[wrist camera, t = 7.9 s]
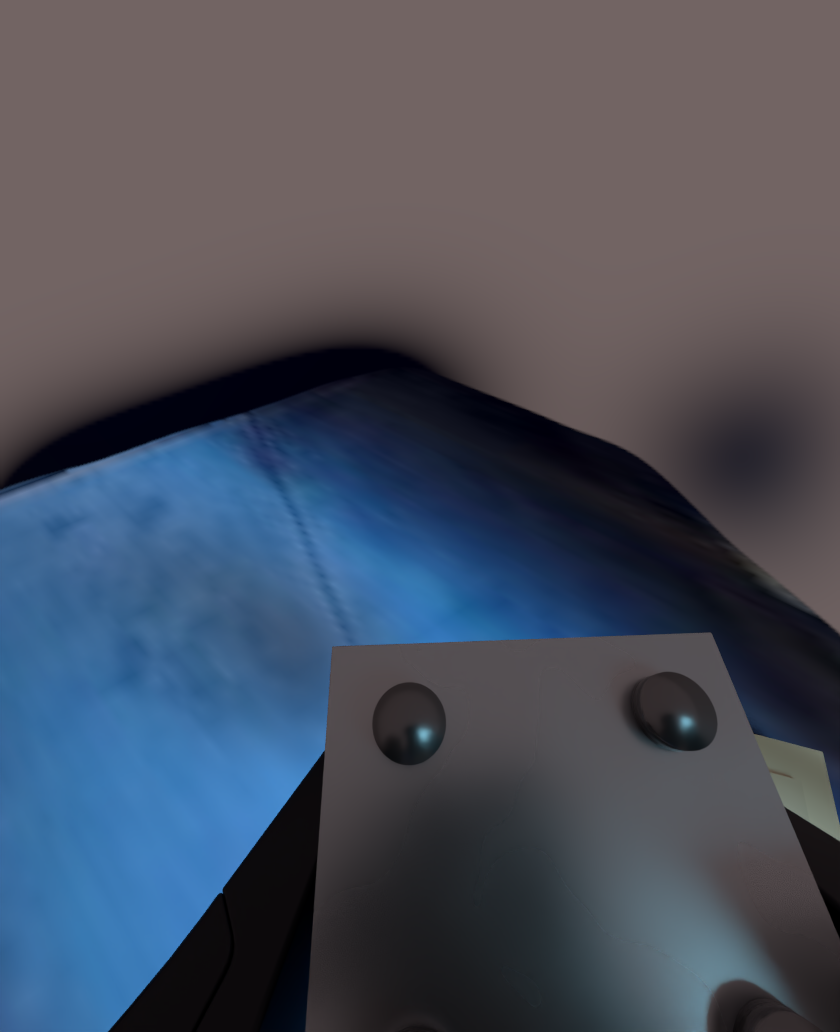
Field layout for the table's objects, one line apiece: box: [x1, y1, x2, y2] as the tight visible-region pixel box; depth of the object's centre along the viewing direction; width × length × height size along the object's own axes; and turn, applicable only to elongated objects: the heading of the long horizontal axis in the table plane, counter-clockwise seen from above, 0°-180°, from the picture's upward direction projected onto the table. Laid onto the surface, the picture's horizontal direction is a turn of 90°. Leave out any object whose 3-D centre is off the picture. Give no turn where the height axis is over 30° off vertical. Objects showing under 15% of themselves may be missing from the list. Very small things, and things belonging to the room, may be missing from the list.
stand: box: [754, 734, 840, 841], centre depth 16 cm, size 14×14×2 cm
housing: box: [305, 633, 840, 1032], centre depth 9 cm, size 5×6×11 cm
